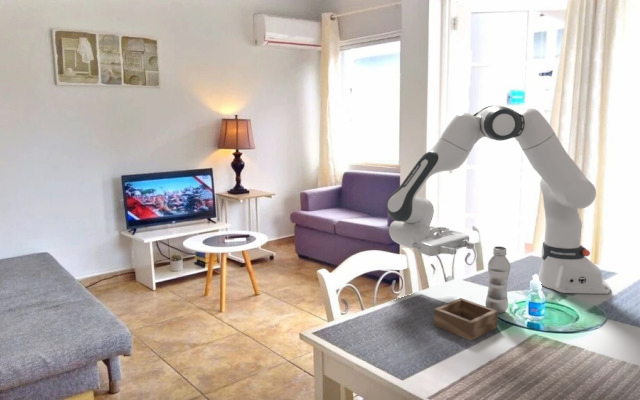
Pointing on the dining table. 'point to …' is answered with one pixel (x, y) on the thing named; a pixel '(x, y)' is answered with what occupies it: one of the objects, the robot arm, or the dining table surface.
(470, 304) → the open wooden box
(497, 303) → the plastic bottle
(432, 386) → the dining table surface
